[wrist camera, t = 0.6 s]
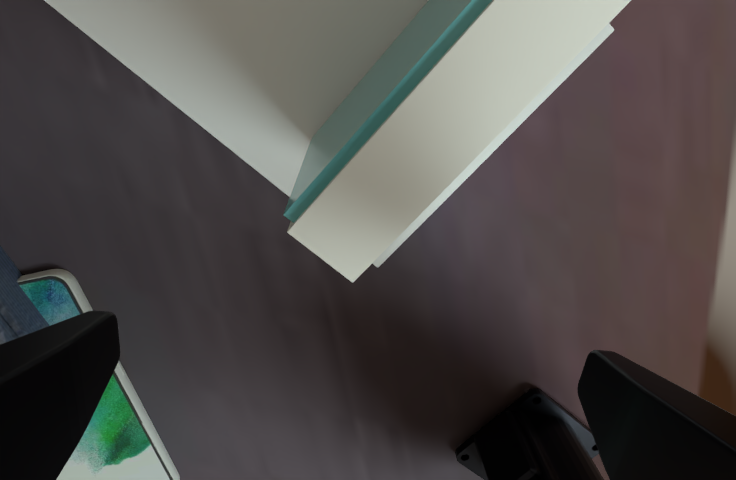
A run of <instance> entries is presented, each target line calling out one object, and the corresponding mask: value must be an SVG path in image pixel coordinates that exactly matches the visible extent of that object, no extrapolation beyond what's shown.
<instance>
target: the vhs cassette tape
mask: <svg viewBox="0 0 736 480" xmlns="http://www.w3.org/2000/svg"><path fill="white" fill-rule="evenodd" d="M21 276H23V275H22V274H21V272H20V271H19V270H18V268H17V267H16V266H15V264H14V263H13V262H12V260H11V259H10V258H9V256H8V255H7V254H6V252H5V251H4V250H3V248H2V247H1V246H0V344H3V343H6V342H8V341H11V340H14V339H16V338H19V337H22V336H24V335H27V334H29V333H32V332H35V331H37V330H40V329H43V328H45V327H48V326H49V324H48V323H47V321H46V320H45V319H44V318H43V316H42V315H41V314H40V312H39V311H38V310H37V308H36V307H35V306H34V304H33V303H32V302H31V300H30V299H29V298H28V296H27V295H26V294H25V292H24V291H23V290H22V288H21V287H20V286H19V284H18V282H17V280H18V279H19V278H20V277H21Z"/></svg>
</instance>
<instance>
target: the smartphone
mask: <svg viewBox="0 0 736 480" xmlns="http://www.w3.org/2000/svg"><path fill="white" fill-rule="evenodd" d="M17 282H18V284H19V286H20V287H21V288H22V290H23V291H24V292H25V294H26V295H27V296H28V298H29V299H30V300H31V302H32V303H33V304H34V306H35V307H36V308H37V310H38V311H39V312H40V314H41V315H42V316H43V318H44V319H45V320H46V321H47V323H48V324H49V326H51V325H53V324H56V323H58V322H61V321H64V320H66V319H69V318H72V317H74V316H77V315H80V314H82V313H85V312H87V311H93V310H92V308H91V306H90V304H89V302H88V300H87V298H86V296H85V295H84V293H83V291H82V289H81V287H80V285H79V283H78V281H77V280H76V278H75V277H74V276H73V275H72V274H71V273H70V272H68V271H66V270H64V269H50V270H46V271H41V272H37V273H32V274H27V275H23V276H21V277H20V278H19V279H18V280H17ZM129 405H130V406H129ZM56 480H180V476H179V473H178V471H177V469H176V468H175V466H174V464H173V462H172V460H171V458H170V456H169V454H168V452H167V450H166V449H165V447H164V445H163V443H162V441H161V439H160V437H159V435H158V433H157V431H156V429H155V428H154V426H153V424H152V422H151V420H150V418H149V416H148V414H147V412H146V410H145V409H144V407H143V405H142V403H141V401H140V399H139V397H138V395H137V393H136V391H135V390H134V388H133V386H132V384H131V382H130V380H129V378H128V376H127V374H126V372H125V370H124V369H123V367H122V365H121V363H120V361H118V364H117V366H116V368H115V370H114V373H113V375H112V377H111V379H110V381H109V383H108V385H107V387H106V389H105V391H104V393H103V396H102V398H101V400H100V402H99V404H98V406H97V408H96V410H95V412H94V414H93V416H92V418H91V421H90V423H89V425H88V427H87V429H86V431H85V433H84V434H83V436H82V438H81V440H80V442H79V443H78V445H77V447H76V449H75V450H74V452H73V454H72V455H71V457H70V458H69V460H68V462H67V463H66V465H65V466H64V468H63V470H62V471H61V473H60V474H59V476H58V478H57V479H56Z"/></svg>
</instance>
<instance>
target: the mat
mask: <svg viewBox="0 0 736 480" xmlns="http://www.w3.org/2000/svg"><path fill="white" fill-rule="evenodd" d="M44 1H45V2H47V3H48V4H49V5H50V6H52V7H53V8H54V9H55V10H57V11H58V12H59V13H60V14H62V15H63V16H64V17H65V18H67V19H68V20H69V21H70V22H72V23H73V24H74V25H75V26H77V27H78V28H79V29H80V30H82V31H83V32H84V33H85V34H87V35H88V36H89V37H90V38H92V39H93V40H94V41H95V42H97V43H98V44H99V45H100V46H102V47H103V48H104V49H105V50H107V51H108V52H109V53H110V54H112V55H113V56H114V57H115V58H117V59H118V60H119V61H120V62H122V63H123V64H124V65H125V66H127V67H128V68H129V69H130V70H132V71H133V72H134V73H135V74H137V75H138V76H139V77H140V78H142V79H143V80H144V81H145V82H147V83H148V84H149V85H150V86H152V87H153V88H154V89H155V90H157V91H158V92H159V93H160V94H162V95H163V96H164V97H165V98H166V99H168V100H169V101H170V102H171V103H173V104H174V105H175V106H176V107H178V108H179V109H180V110H181V111H183V112H184V113H185V114H186V115H188V116H189V117H190V118H191V119H193V120H194V121H195V122H196V123H198V124H199V125H200V126H201V127H203V128H204V129H205V130H206V131H208V132H209V133H210V134H211V135H213V136H214V137H215V138H216V139H218V140H219V141H220V142H221V143H223V144H224V145H225V146H226V147H228V148H229V149H230V150H231V151H233V152H234V153H235V154H236V155H238V156H239V157H240V158H241V159H243V160H244V161H245V162H246V163H248V164H249V165H250V166H251V167H253V168H254V169H255V170H256V171H258V172H259V173H260V174H261V175H263V176H264V177H265V178H266V179H268V180H269V181H270V182H271V183H273V184H274V185H275V186H276V187H278V188H279V189H280V190H281V191H283V192H284V193H285V194H286V195H288V196H289V197H290V195H291V192H292V190H293V187H294V184H295V182H296V179H297V176H298V173H299V171H300V168H301V165H302V163H303V160H304V157H305V154H306V152H307V149H308V146H309V143H310V141H311V138H312V137H313V136H314V134H315V133H316V132H317V131H318V130H319V129H320V127H321V126H322V125H323V124H324V123H325V121H326V120H327V119H328V118H329V117H330V116H331V114H332V113H333V112H334V111H335V110H336V109H337V107H338V106H339V105H340V104H341V103H342V101H343V100H344V99H345V98H346V97H347V96H348V94H349V93H350V92H351V91H352V90H353V88H354V87H355V86H356V85H357V84H358V83H359V81H360V80H361V79H362V78H363V77H364V76H365V74H366V73H367V72H368V71H369V70H370V68H371V67H372V66H373V65H374V64H375V63H376V61H377V60H378V59H379V58H380V57H381V56H382V54H383V53H384V52H385V51H386V50H387V48H388V47H389V46H390V45H391V44H392V43H393V41H394V40H395V39H396V38H397V37H398V35H399V34H400V33H401V32H402V31H403V30H404V28H405V27H406V26H407V25H408V24H409V23H410V21H411V20H412V19H413V18H414V17H415V15H416V14H417V13H418V12H419V11H420V10H421V8H422V7H423V6H424V5H425V4H426V2H427V1H428V0H44ZM613 31H614V29H613V27H612V26H611V25H610V24H609V23H608V24H607V25H606V26H605V27H604V28H603V29H602V30H601V31H600V33H599V34H598V35H597V36H596V37H595V38H594V39H593V40H592V41H591V42H590V43H589V44H588V45H587V46H586V47H585V48H584V49H583V50H582V51H581V52H580V53H579V54H578V55H577V56H576V57H575V58H574V59H573V60H572V61H571V62H570V63H569V64H568V65H567V66H566V67H565V68H564V69H563V70H562V71H561V72H560V73H559V74H558V75H557V76H556V77H555V78H554V79H553V80H552V81H551V82H550V83H549V84H548V85H547V86H546V87H545V88H544V89H543V90H542V91H541V92H540V93H539V94H538V95H537V96H536V97H535V98H534V99H533V101H532V102H531V103H530V104H529V105H528V106H527V107H526V108H525V109H524V110H523V111H522V112H521V113H520V114H519V115H518V116H517V117H516V118H515V119H514V120H513V121H512V122H511V123H510V124H509V125H508V126H507V127H506V128H505V129H504V130H503V131H502V132H501V133H500V134H499V135H498V136H497V137H496V138H495V139H494V140H493V141H492V142H491V143H490V144H489V145H488V146H487V147H486V148H485V149H484V150H483V151H482V152H481V153H480V154H479V155H478V156H477V157H476V158H475V159H474V160H473V161H472V162H471V163H470V164H469V165H468V166H467V167H466V169H465V170H464V171H463V172H462V173H461V174H460V175H459V176H458V177H457V178H456V179H455V180H454V181H453V182H452V183H451V184H450V185H449V186H448V187H447V188H446V189H445V190H444V191H443V192H442V193H441V194H440V195H439V196H438V197H437V198H436V199H435V200H434V201H433V202H432V203H431V204H430V205H429V206H428V207H427V208H426V209H425V210H424V211H423V212H422V213H421V214H420V215H419V216H418V217H417V218H416V219H415V220H414V221H413V222H412V223H411V224H410V225H409V226H408V227H407V228H406V229H405V230H404V231H403V232H402V233H401V234H400V235H399V236H398V238H397V239H396V240H395V241H394V242H393V243H392V244H391V245H390V246H389V247H388V248H387V249H386V250H385V251H384V252H383V253H382V254H381V255H380V256H379V257H378V258H377V259H376V260H375V261H374V262H373V263H372V264H374V265H375V266H376V267H377V268H378V267H379V266H380V265H381V264H382V263H383V262H384V261H385V260H386V259H387V258H388V257H389V256H390V255H391V254H392V253H393V252H394V251H395V250H396V249H397V248H398V247H399V246H400V245H401V244H402V243H403V242H404V241H405V240H406V239H407V238H408V237H409V236H410V235H411V234H412V233H413V232H414V231H415V230H416V229H417V228H418V227H419V226H420V225H421V224H422V223H423V222H424V221H425V220H426V219H427V218H428V217H429V216H430V215H431V214H432V213H433V212H434V211H435V210H436V209H437V208H438V207H439V206H440V205H441V204H442V203H443V202H444V201H445V200H446V199H447V198H448V197H449V196H450V195H451V194H452V193H453V192H454V191H455V190H456V189H457V188H458V187H459V186H460V185H461V184H462V183H463V182H464V181H465V180H466V179H467V178H468V177H469V176H470V175H471V174H472V173H473V172H474V171H475V170H476V169H477V168H478V167H479V166H480V165H481V164H482V163H483V162H484V161H485V160H486V159H487V158H488V157H489V156H490V155H491V154H492V153H493V152H494V151H495V150H496V149H497V148H498V147H499V146H500V145H501V144H502V143H503V142H504V141H505V140H506V139H507V138H508V137H509V136H510V135H511V134H512V133H513V132H514V131H515V130H516V129H517V128H518V127H519V126H520V125H521V124H522V123H523V121H524V120H525V119H526V118H527V117H528V116H529V115H530V114H531V113H532V112H533V111H534V110H535V109H536V108H537V107H538V106H539V105H540V104H541V103H542V102H543V101H544V100H545V99H546V98H547V97H548V96H549V95H550V94H551V93H552V92H553V91H554V90H555V89H556V88H557V87H558V86H559V85H560V84H561V83H562V82H563V81H564V80H565V79H566V78H567V77H568V76H569V75H570V74H571V73H572V72H573V71H574V70H575V69H576V68H577V67H578V66H579V65H580V64H581V63H582V62H583V61H584V60H585V59H586V58H587V57H588V56H589V55H590V54H591V53H592V52H593V51H594V50H595V49H596V48H597V47H598V46H599V45H600V44H601V43H602V42H603V41H604V40H605V39H606V38H607V37H608V36H609V35H610V34H611V33H612V32H613Z"/></svg>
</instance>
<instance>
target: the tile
mask: <svg viewBox="0 0 736 480" xmlns="http://www.w3.org/2000/svg"><path fill="white" fill-rule="evenodd" d="M630 1H631V0H428V1H427V2H426V4H425V5H424V6H423V7H422V8H421V10H420V11H419V12H418V13H417V14H416V15H415V17H414V18H413V19H412V20H411V21H410V23H409V24H408V25H407V26H406V27H405V28H404V30H403V31H402V32H401V33H400V34H399V35H398V37H397V38H396V39H395V40H394V41H393V43H392V44H391V45H390V46H389V47H388V48H387V50H386V51H385V52H384V53H383V54H382V56H381V57H380V58H379V59H378V60H377V61H376V63H375V64H374V65H373V66H372V67H371V68H370V70H369V71H368V72H367V73H366V74H365V76H364V77H363V78H362V79H361V80H360V81H359V83H358V84H357V85H356V86H355V87H354V88H353V90H352V91H351V92H350V93H349V94H348V96H347V97H346V98H345V99H344V100H343V101H342V103H341V104H340V105H339V106H338V107H337V109H336V110H335V111H334V112H333V113H332V114H331V116H330V117H329V118H328V119H327V120H326V121H325V123H324V124H323V125H322V126H321V127H320V129H319V130H318V131H317V132H316V133H315V134H314V136H313V137H312V138H311V141H310V143H309V146H308V149H307V152H306V154H305V157H304V160H303V163H302V165H301V168H300V171H299V173H298V176H297V179H296V182H295V184H294V187H293V190H292V192H291V195H290V198H289V201H288V203H287V206H286V209H285V212H284V214H283V215H284V216H285V217H286V218H288V219H289V220H290V225H289V228H288V231H287V233H289V234H290V235H291V236H293V237H294V238H295V239H296V240H298V241H299V242H300V243H302V244H303V245H304V246H305V247H307V248H308V249H309V250H311V251H312V252H313V253H315V254H316V255H317V256H318V257H320V258H321V259H322V260H324V261H325V262H326V263H328V264H329V265H330V266H331V267H333V268H334V269H335V270H337V271H338V272H339V273H340V274H342V275H343V276H344V277H346V278H347V279H348V280H350V281H351V282H352V283H353V282H354V281H355V280H356V279H357V278H358V277H359V276H360V275H361V274H362V273H363V272H364V271H365V270H366V269H367V268H368V267H369V266H370V265H371V264H372V263H373V262H374V261H375V260H376V259H377V258H378V257H379V256H380V255H381V254H382V253H383V252H384V251H385V250H386V249H387V248H388V247H389V246H390V245H391V244H392V243H393V242H394V241H395V240H396V239H397V238H398V236H399V235H400V234H401V233H402V232H403V231H404V230H405V229H406V228H407V227H408V226H409V225H410V224H411V223H412V222H413V221H414V220H415V219H416V218H417V217H418V216H419V215H420V214H421V213H422V212H423V211H424V210H425V209H426V208H427V207H428V206H429V205H430V204H431V203H432V202H433V201H434V200H435V199H436V198H437V197H438V196H439V195H440V194H441V193H442V192H443V191H444V190H445V189H446V188H447V187H448V186H449V185H450V184H451V183H452V182H453V181H454V180H455V179H456V178H457V177H458V176H459V175H460V174H461V173H462V172H463V171H464V170H465V169H466V167H467V166H468V165H469V164H470V163H471V162H472V161H473V160H474V159H475V158H476V157H477V156H478V155H479V154H480V153H481V152H482V151H483V150H484V149H485V148H486V147H487V146H488V145H489V144H490V143H491V142H492V141H493V140H494V139H495V138H496V137H497V136H498V135H499V134H500V133H501V132H502V131H503V130H504V129H505V128H506V127H507V126H508V125H509V124H510V123H511V122H512V121H513V120H514V119H515V118H516V117H517V116H518V115H519V114H520V113H521V112H522V111H523V110H524V109H525V108H526V107H527V106H528V105H529V104H530V103H531V102H532V101H533V99H534V98H535V97H536V96H537V95H538V94H539V93H540V92H541V91H542V90H543V89H544V88H545V87H546V86H547V85H548V84H549V83H550V82H551V81H552V80H553V79H554V78H555V77H556V76H557V75H558V74H559V73H560V72H561V71H562V70H563V69H564V68H565V67H566V66H567V65H568V64H569V63H570V62H571V61H572V60H573V59H574V58H575V57H576V56H577V55H578V54H579V53H580V52H581V51H582V50H583V49H584V48H585V47H586V46H587V45H588V44H589V43H590V42H591V41H592V40H593V39H594V38H595V37H596V36H597V35H598V34H599V33H600V31H601V30H602V29H603V28H604V27H605V26H606V25H607V24H608V23H609V22H610V21H611V20H612V19H613V18H614V17H615V16H616V15H617V14H618V13H619V12H620V11H621V10H622V9H623V8H624V7H625V6H626V5H627V4H628V3H629V2H630Z"/></svg>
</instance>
